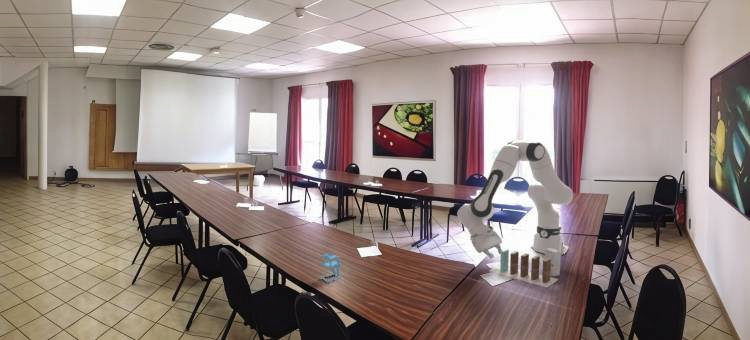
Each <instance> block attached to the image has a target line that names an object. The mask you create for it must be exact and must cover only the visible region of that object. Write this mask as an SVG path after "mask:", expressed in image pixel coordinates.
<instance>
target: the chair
mask: <svg viewBox="0 0 750 340" xmlns="http://www.w3.org/2000/svg"><path fill="white" fill-rule="evenodd" d="M321 258H322V261H323V262H322V263H321V267H325V268H327V269H330V270H331V272H332V274H326V275H322V276H319V279H320V278H323V277H324V276H330V275H336V274H337V276H333V278H332V279H331V278H330V279H328V278H323V279H325V280H327V281H329V282H331V281H333V280H334V279H335V278H337V277H338V276H340V277H341V271H340V268H341V267H342V263H341V262H340V260H341V256H338V255H335V254H333V253H329V252H327V253H325V254H324V255H322V256H321ZM335 259H337V261H334V260H335ZM326 260H328V262H326ZM337 279H338V278H337ZM334 281H335V280H334ZM334 281H333V282H334ZM329 282H328V283H329ZM331 283H332V282H331Z"/></svg>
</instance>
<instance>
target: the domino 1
mask: <svg viewBox="0 0 750 340" xmlns="http://www.w3.org/2000/svg"><path fill="white" fill-rule="evenodd" d="M509 252H510V250H509V248H504V249H502V251H501V254H500V264H499V265H500V271H502V272H504V271H506V270H508V266H509V262H510V261H509V258H510V257H509V256H510V255H509Z"/></svg>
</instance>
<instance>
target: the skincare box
mask: <svg viewBox="0 0 750 340" xmlns="http://www.w3.org/2000/svg"><path fill="white" fill-rule="evenodd" d="M547 258H549V259H551V271H550V277H554V276H560V274H561V272H560V271H561V261H562V260H561V259H562V254H561V251H558V250H556V249H553V248H547V249H545V254H544V260H545V259H547Z"/></svg>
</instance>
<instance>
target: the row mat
mask: <svg viewBox="0 0 750 340" xmlns="http://www.w3.org/2000/svg"><path fill="white" fill-rule="evenodd" d="M520 270H521V268H518V272H517V273H515V274H514V275H513V274H510V266H509V265H508V270H506V271H504V272H502V271H500V264H499V265H497V266H495V267H493V268H491V269H489V270H488V272H490V273H493V274H497V275H501V276H504V277H508V278H512V279H515V280H519V281H521V282H527V283H530V284H533V285H536V286H540V287H544V288H549V287H550V286H552V285H553V284H554V283H556V282H557V281H558V280H559V278H554V277H553V276H550V281H549V282H547V283H542V274H540V273H539V278H537V279H536V280H531V271H528V275H527V276H525V277H520Z"/></svg>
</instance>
